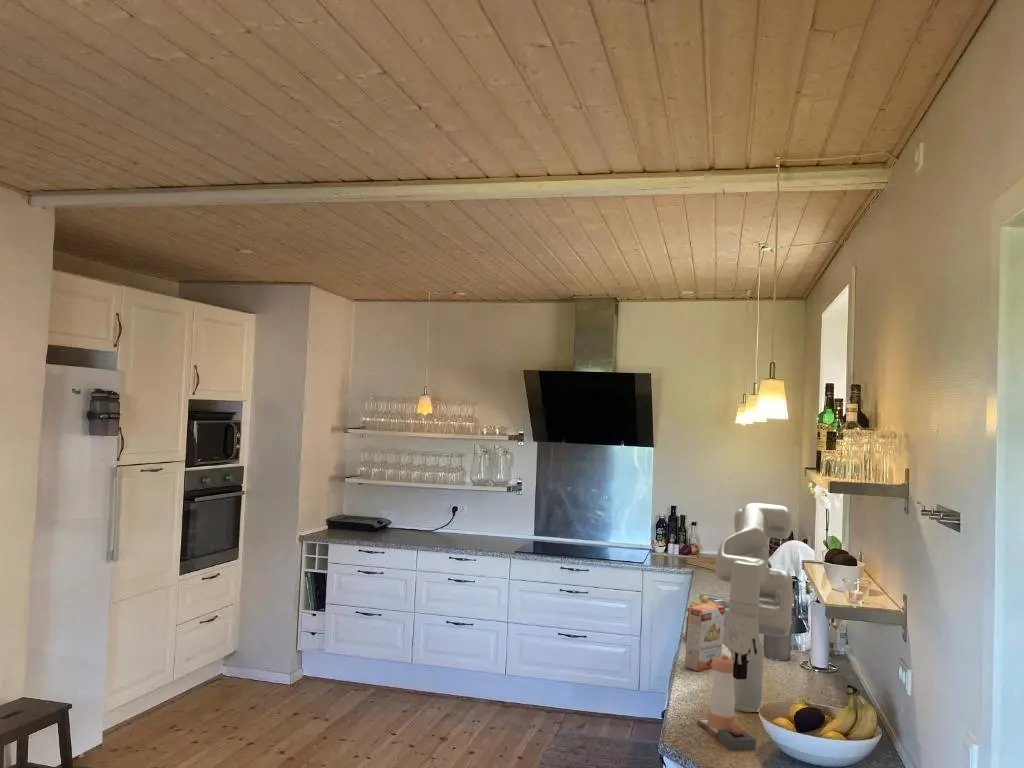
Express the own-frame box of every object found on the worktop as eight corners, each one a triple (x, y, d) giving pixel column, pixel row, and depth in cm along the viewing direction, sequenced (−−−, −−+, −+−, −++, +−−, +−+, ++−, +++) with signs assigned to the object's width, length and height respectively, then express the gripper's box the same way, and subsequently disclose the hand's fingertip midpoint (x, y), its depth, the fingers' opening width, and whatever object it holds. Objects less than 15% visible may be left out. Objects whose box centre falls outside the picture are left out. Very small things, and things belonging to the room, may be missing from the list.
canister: (706, 649, 290) (709, 601, 290) (678, 640, 299) (680, 594, 300) (725, 643, 298) (728, 598, 299) (697, 635, 308) (699, 590, 309)
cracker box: (698, 672, 261) (702, 610, 262) (684, 667, 265) (687, 606, 266) (722, 666, 270) (725, 606, 271) (707, 661, 275) (711, 602, 275)
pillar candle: (767, 651, 293) (769, 611, 293) (793, 657, 287) (795, 616, 287) (759, 656, 285) (761, 616, 285) (786, 663, 279) (788, 621, 280)
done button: (729, 731, 204) (730, 723, 204) (738, 730, 205) (738, 723, 205) (735, 735, 202) (735, 727, 202) (743, 735, 203) (744, 727, 203)
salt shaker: (704, 726, 211) (708, 655, 212) (711, 718, 218) (715, 649, 218) (730, 733, 208) (734, 661, 208) (737, 724, 214) (741, 655, 215)
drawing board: (697, 723, 216) (697, 719, 216) (725, 721, 218) (725, 717, 218) (716, 738, 206) (716, 734, 206) (745, 736, 209) (745, 732, 209)
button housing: (717, 739, 206) (717, 729, 206) (740, 737, 208) (740, 728, 208) (731, 750, 199) (732, 740, 199) (755, 749, 201) (755, 739, 201)
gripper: (716, 601, 211) (712, 669, 210) (747, 615, 197) (743, 688, 195) (740, 601, 213) (736, 669, 212) (772, 615, 199) (768, 687, 198)
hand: (739, 678), depth 204 cm, fingers closed
